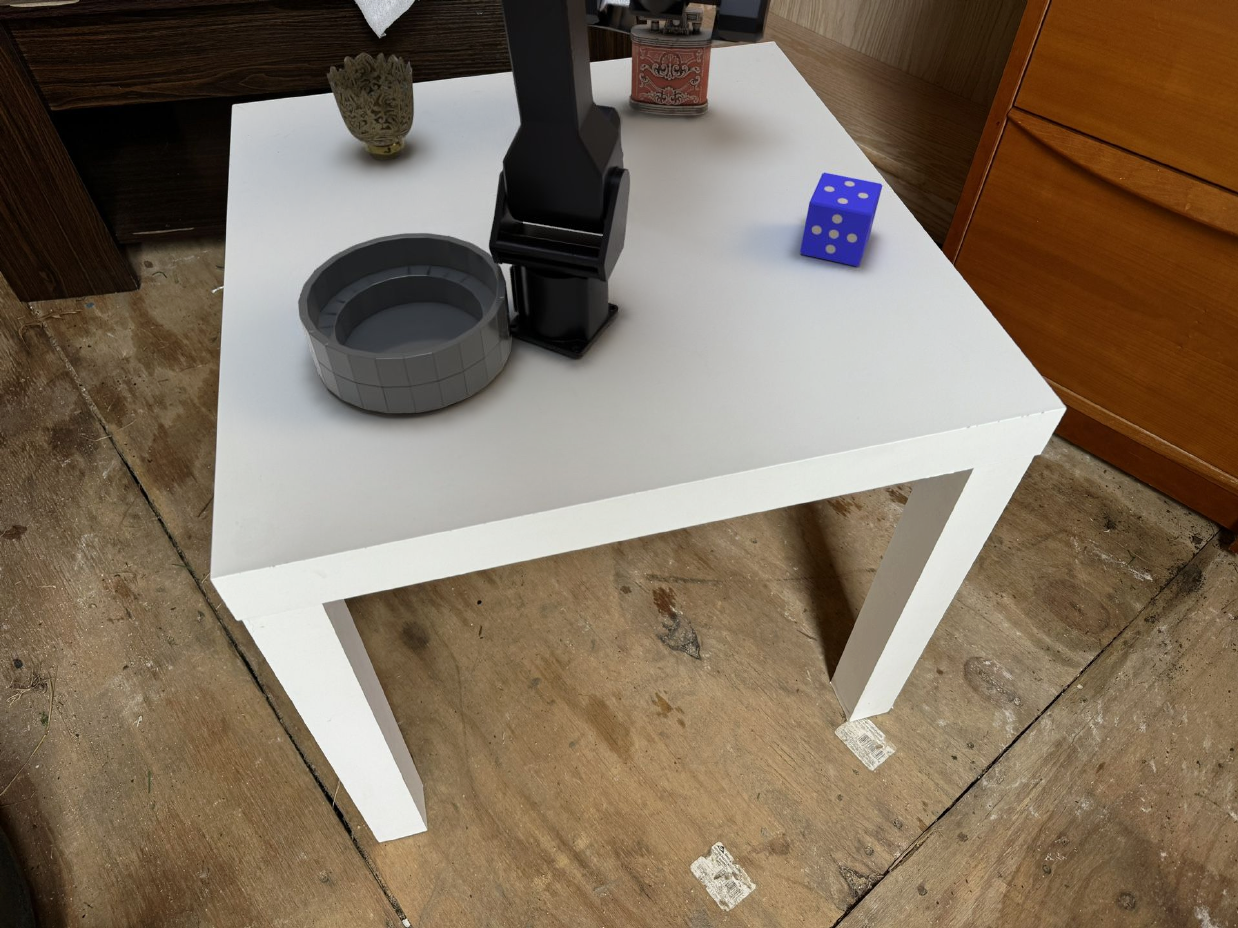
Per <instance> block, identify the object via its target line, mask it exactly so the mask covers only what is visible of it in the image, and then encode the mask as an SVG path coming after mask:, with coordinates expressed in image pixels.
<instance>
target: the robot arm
mask: <svg viewBox="0 0 1238 928" xmlns="http://www.w3.org/2000/svg"><path fill="white" fill-rule="evenodd" d="M499 1H500V7H501V13H502V18H503V19H502V20H503V23H504V29H505V36H506V43H507V48H508V54H509V60H510V66H511V67H510V68H511V73H512V79H513V85H514V92H515V98H516V102H517V103H516V104H517V110H518V116H519V126H518V128H517V130H516V133H515V134H514V136H513V139H512V141H511V143H510V145H509V147H508V148H507V151H506V153H505V155H504V157H503V159H502V170H501V171H500V172H499V174H498V183H497V190H496V198H495V206H494V213H493V218H492V219H493V220H492V224H491V229H490V236H489V240H488V249H489V253H490V255H491V256H492V258H493V261H494V263H497V264H499V265H503V264H504V265H511V266H509V281H510V288H511V290H510V291H511V298H512V299H511V300H512V309H513V311H514V312H515V313H517V314H516V315H515V316H514V317H513V319H512V320H510V323H511V333H512V337H516V338H519V339H522V340H525V341H527V342H531V343H533V344H535V345H538V346H541V347H543V348H546V349H549V350H552V351H555V352H557V353H559V354H563V355H565V356H569V357H571V358H574V359H579V358H582V357H583V356H584V355H585V354H586V352H587V351H588V350H589V349H590V347H591V346H592V345H593V344H594V343H595V342H596V341H597V339H598V338H599V337H600V336H601V335H602V333H603V332H604V331H605V330H607V327H608V326H609V325H610V324H611V323H612V322H613V320H614V319H616V317H617V315H618V314H619V306H618V305H617V304H615V303H611V302H609V281H610V278H611V275H612V273H613V272H614V270H615V268H616V265H617V263H618V261H619V258H620V256H621V254H622V252H623V250H624V247H625V240H626V239H625V238H626V230H627V219H628V211H629V201H630V200H629V199H630V191H631V189H630V188H631V175H630V170H629V169H628V168H626V167H624V150H623V146H622V145H623V144H622V117H621V116H620V114H619V112H618V110H617V108H616V107H615V106H610V105H609V106H608V105H601V104H596V102H595V101H594V96H593V83H592V72H591V60H590V48H589V47H590V46H589V36H588V34H589V33H588V26H589V27H594V28H599V29H604V30H605V29H606V30H609V31H614V32H617V33H618V32H619V33H623V34H626V35H630V36H631V28H632V27H634V26H636V25H638V23H637V17H638V16H643V17H651V18H660V19H668V20H677V21H683V20H684V15H685V10H686V7H689V5H690V4H696V5H697V4H698V5H704V6H705V5H706V6H715V8H714V11H715V15H714V19H713V25H712V29H711V30H712V35H711V43H712V44H711V45H715V46H718V45H722V44H740V43H750V44H757V43H758V42H760V41H761V40H762V39H764V37H765V32H766V28H767V27H766V26H767V20H768V16H769V11H770V6H771V0H499Z"/></svg>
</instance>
